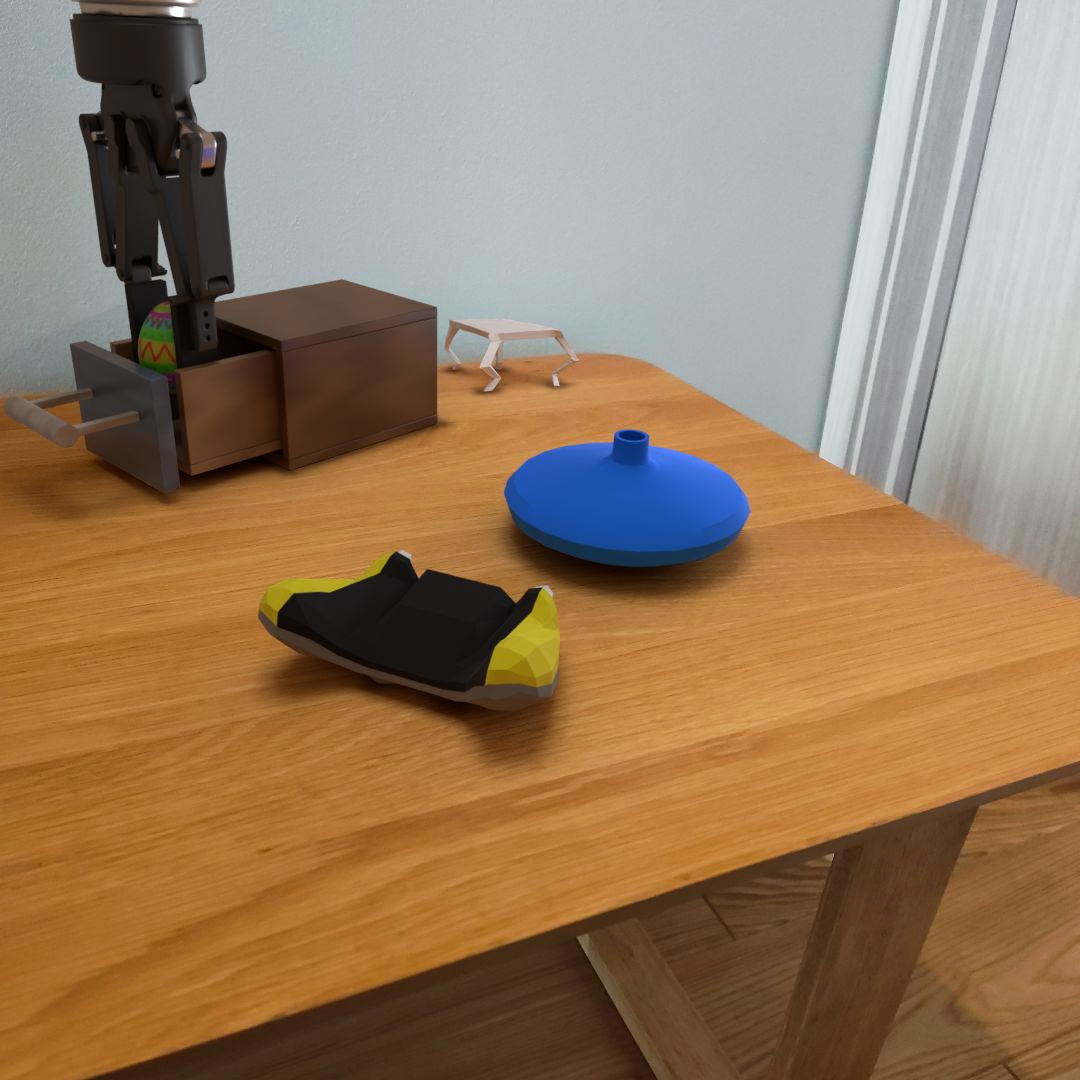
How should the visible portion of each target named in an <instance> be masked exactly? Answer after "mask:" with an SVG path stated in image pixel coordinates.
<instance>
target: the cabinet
mask: <svg viewBox="0 0 1080 1080" xmlns="http://www.w3.org/2000/svg"><path fill="white" fill-rule="evenodd" d="M214 306H215V317H216V327H217V328H220V329H222V330H225V331H228V332H230V333H233V334H236V335H238V336H241V337H244V338H246V339H249V340H252V341H254V342H257V343H260V344H262V345H265V346H268V347H270V348H273V349H276V365H277V379H278V393H279V408H280V422H281V437H282V449H279V450H276V451H273V452H269V453H266V454H263V455H259V456H258V457H261V458H263V459H265V460H266V461H270V462H272V463H273V464H276V465H277V466H280V467H282V468H284V469H286V470H288V471H293V470H296V469H299V468H301V467H305V466H308V465H312V464H314V463H318V462H321V461H324V460H326V459H330V458H333V457H336V456H339V455H342V454H346V453H349V452H352V451H354V450H355V451H356V450H359V449H361V448H364V447H367V446H372V445H374V444H378V443H380V442H383V441H386V440H389V439H392V438H396V437H398V436H401V435H404V434H408V433H411V432H415V431H417V430H421V429H423V428H428V427H430V426H433V425H436V424H438V306H435V305H431V304H428V303H425V302H422V301H418V300H415V299H412V298H408V297H404V296H401V295H399V294H394V293H392V292H387V291H384V290H381V289H378V288H373V287H370V286H367V285H364V284H360V283H357V282H353V281H349V280H346V279H343V278H341V279H335V280H330V281H325V282H318V283H314V284H307V285H303V286H302V285H301V286H296V287H290V288H286V289H285V288H284V289H280V290H273V291H269V292H264V293H257V294H251V295H246V296H240V297H235V298H229V299H225V300H224V299H223V300H217V301H215V303H214Z"/></svg>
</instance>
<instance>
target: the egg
mask: <svg viewBox="0 0 1080 1080" xmlns="http://www.w3.org/2000/svg"><path fill="white" fill-rule="evenodd" d="M138 357H139V363H140V365H142V366H144V367H146V368H148V369H151V370H153V371H155V372H157V373H160V374H162V375H164V376H166V377H167V380H168V389H169V394H177V392H176V384H175V375H174V370H177V363H176V354H175V345H174V337H173V328H172V319H171V310H170V303H169V302H168V301H166V302H163V303H161V304H159V305H157V306H156V307H155V308H154V309H153V310H152V311H151V312H150V313H149V315H148V316H147V318H146V319H145V321H144V323H143V326H142V328H141V331H140V335H139V341H138Z"/></svg>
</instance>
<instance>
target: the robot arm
mask: <svg viewBox="0 0 1080 1080" xmlns="http://www.w3.org/2000/svg"><path fill="white" fill-rule="evenodd" d="M71 1H72V2H74V3H76V2H77V3H78V4H79V9H80V12H79V13H78V12H77V13H75V12H73V13H72V18H69V26H70V32H71V38H72V39H71V41H72V46H73V54H74V55H73V56H74V63H75V68H76V69H75V70H76V73H77V74H78V76H79V77H80V78H81V79H82V80H84V81H86V82H88V83H89V82H90V83H94V84H100V85H101V89H100V90H101V91H100V92H101V94H100V102H99V111H98V112H92V113H91V112H89V113H80V114H79V115H78V125H79V130H80V133H81V136H82V140H83V143H84V146H85V150H86V155H87V160H88V168H89V177H90V184H91V191H92V198H93V205H94V214H95V220H96V227H97V228H96V229H97V236H98V242H99V243H98V244H99V251H100V256H101V257H100V258H101V262H102V264H103V265H104V267H105V268H114V269H115V273H116V276H117V278H118V280H119V281H120V282H121V283H123V284H124V285H123V286H124V294H125V299H126V300H125V301H126V309H127V317H128V323H129V330H130V338H131V340H132V347H133V355H134V362H135V363H137V364H139V365H140V363H139V357H138V341H139V335H140V331H141V328H142V326H143V323H144V321H145V319H146V318H147V316H148V315H149V313H150V312H151V311H152V310H153V309H154V308H155V307H156V306H157V305H159V304H161V303H163V302H166V301H168V302H169V303H170V310H171V319H172V328H173V337H174V345H175V354H176V363H177V369H182V368H186V367H191V366H195V365H200V364H204V363H209V362H213V361H218V350H217V343H218V338H217V333H216V332H217V328H216V317H215V306H214V303H215V302H216V299H218V298H219V297H222V296H225V295H230V294H234V292H235V289H236V285H235V273H234V272H235V271H234V262H233V251H232V240H231V230H230V229H231V228H230V219H229V207H228V198H227V197H228V195H227V187H226V186H227V185H226V174H225V173H226V163H227V153H228V139H227V136H226V134H225V133H224V132H223V131H220V130H218V131H217V130H216V131H207V130H206V129H205V128H203V127H201V126H200V125H199V123H198V117H197V114H196V110H195V108H194V105H193V101H192V96H191V93H190V91H191V88H192V86H193V85H194V86H195V85H200V84H202V83H203V82H204V81H205V80H206V79H207V75H208V74H207V73H208V72H207V63H206V62H207V61H206V50H205V40H204V28H203V24H201V23H199V21H200V20H199V19H198V18H197V17H193V13H192V8H198V7H199V6H200V4H201V3H202V0H71ZM159 226H160V227H159ZM159 228H160V230H161V235H162V239H163V243H164V248H165V251H166V256H167V259H168V260H167V261H168V264H169V268H170V272H171V273H170V274H171V277H172V281H173V285H174V289H175V293H176V294H174V295H169V294H168V284H167V280H165V279H161V278H159V279H153V278H157V277H163V276H166V275H167V274H168V270H167V269H166V268H165V267H164V266H163V265H161V264H160V263H159Z"/></svg>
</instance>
